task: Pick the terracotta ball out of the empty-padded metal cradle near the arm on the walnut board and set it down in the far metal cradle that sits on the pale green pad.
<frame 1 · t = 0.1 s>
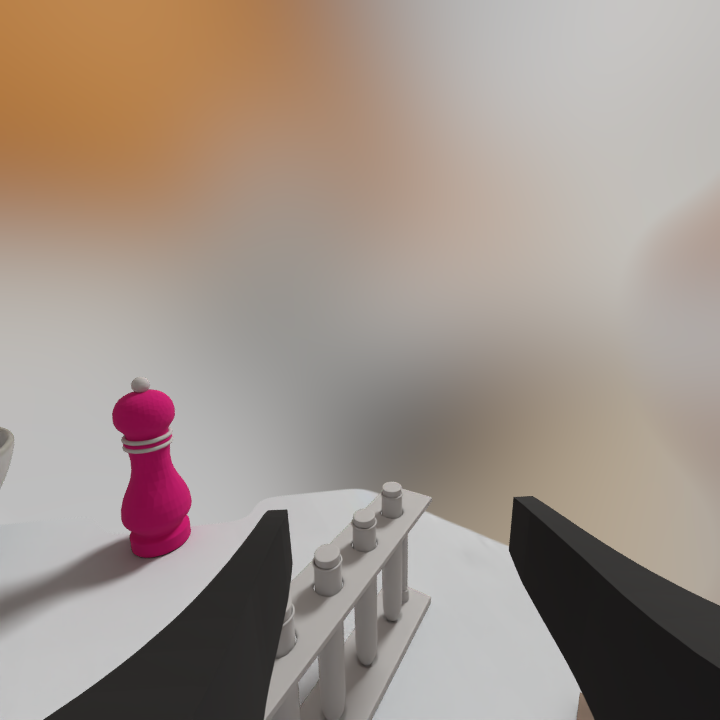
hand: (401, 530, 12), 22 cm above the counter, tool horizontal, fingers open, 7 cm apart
pepper mill: (162, 541, 44), on the counter
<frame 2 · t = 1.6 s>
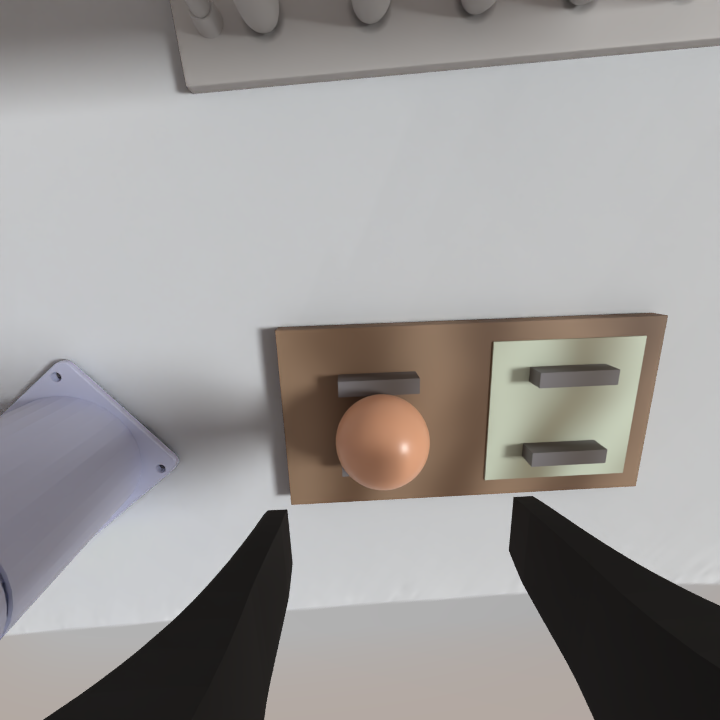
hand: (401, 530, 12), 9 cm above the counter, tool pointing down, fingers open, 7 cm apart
test tube rack: (467, 13, 16), on the counter
cradle board: (464, 407, 21), on the counter
terracotta ball: (382, 440, 17), point 3 cm above the counter, touching cradle board
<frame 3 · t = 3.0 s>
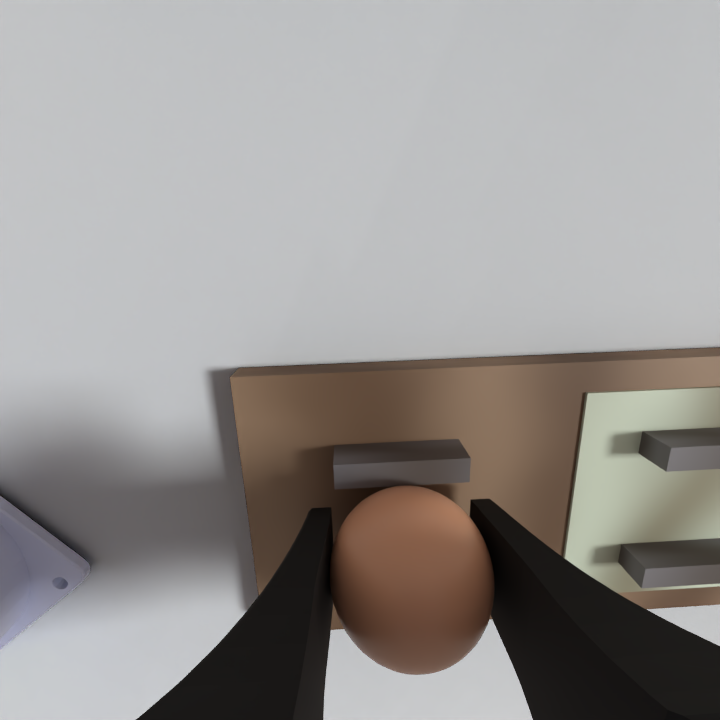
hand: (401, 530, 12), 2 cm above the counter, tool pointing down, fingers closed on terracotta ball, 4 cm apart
cradle board: (528, 485, 14), on the counter
terracotta ball: (409, 569, 10), point 3 cm above the counter, touching cradle board, gripper
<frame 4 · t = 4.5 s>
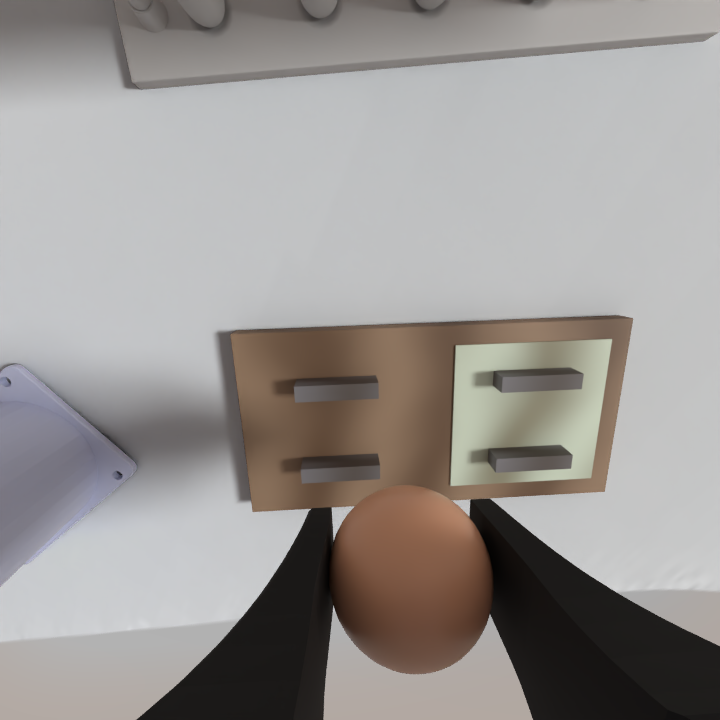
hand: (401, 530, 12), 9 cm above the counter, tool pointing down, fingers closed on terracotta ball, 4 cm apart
test tube rack: (423, 8, 16), on the counter
cradle board: (429, 412, 20), on the counter
terracotta ball: (408, 569, 10), point 11 cm above the counter, touching gripper
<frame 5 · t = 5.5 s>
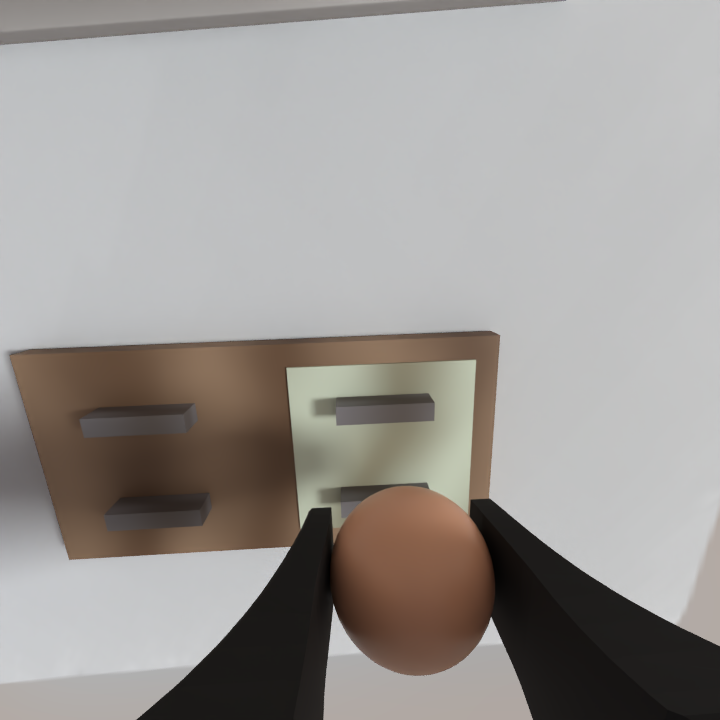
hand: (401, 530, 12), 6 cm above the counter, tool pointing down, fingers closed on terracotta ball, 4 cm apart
cradle board: (275, 443, 17), on the counter
terracotta ball: (409, 570, 10), point 8 cm above the counter, touching gripper
when the fingers open (4 cm above the counter, at t = 6.3 s): terracotta ball drops 2 cm, resting on cradle board.
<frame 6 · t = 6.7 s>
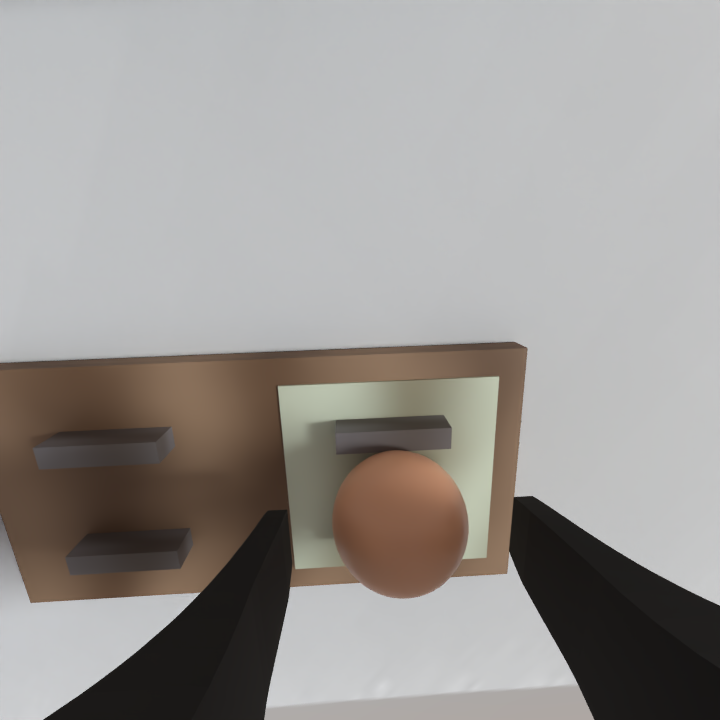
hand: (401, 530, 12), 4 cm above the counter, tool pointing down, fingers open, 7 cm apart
cradle board: (266, 470, 15), on the counter
terracotta ball: (399, 519, 12), point 3 cm above the counter, touching cradle board
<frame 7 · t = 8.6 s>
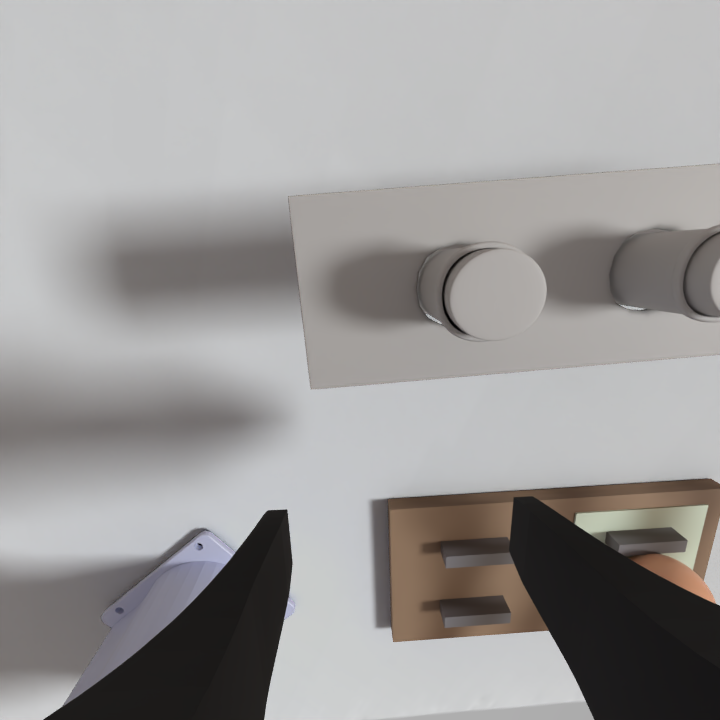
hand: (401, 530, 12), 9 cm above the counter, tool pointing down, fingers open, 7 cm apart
test tube rack: (562, 257, 19), on the counter
cradle board: (543, 556, 24), on the counter
terracotta ball: (663, 597, 21), point 3 cm above the counter, touching cradle board
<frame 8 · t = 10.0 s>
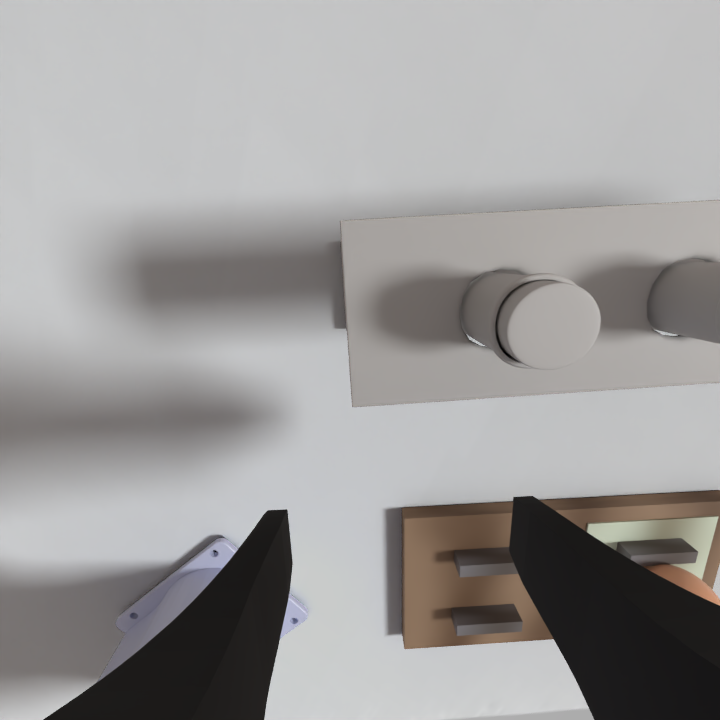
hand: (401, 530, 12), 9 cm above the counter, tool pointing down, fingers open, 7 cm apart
test tube rack: (579, 272, 19), on the counter
cradle board: (554, 565, 24), on the counter
terracotta ball: (674, 607, 21), point 3 cm above the counter, touching cradle board
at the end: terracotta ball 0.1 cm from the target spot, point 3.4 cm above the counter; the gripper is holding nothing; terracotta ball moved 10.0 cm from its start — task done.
